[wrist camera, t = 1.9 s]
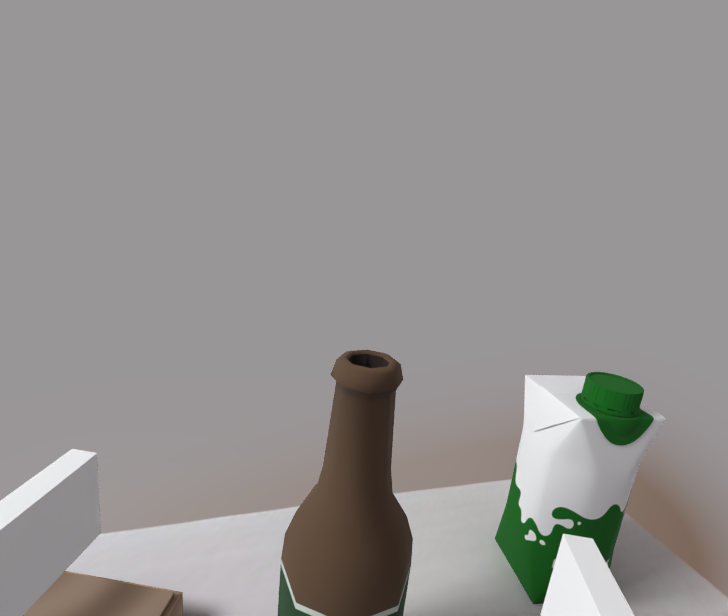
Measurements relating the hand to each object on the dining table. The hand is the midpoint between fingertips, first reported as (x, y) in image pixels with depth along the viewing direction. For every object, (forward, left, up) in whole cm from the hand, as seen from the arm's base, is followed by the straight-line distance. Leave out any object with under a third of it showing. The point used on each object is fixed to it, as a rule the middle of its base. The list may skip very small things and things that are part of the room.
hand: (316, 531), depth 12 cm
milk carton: (-18, -25, -23) cm, 39 cm away
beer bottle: (0, -11, -23) cm, 26 cm away
